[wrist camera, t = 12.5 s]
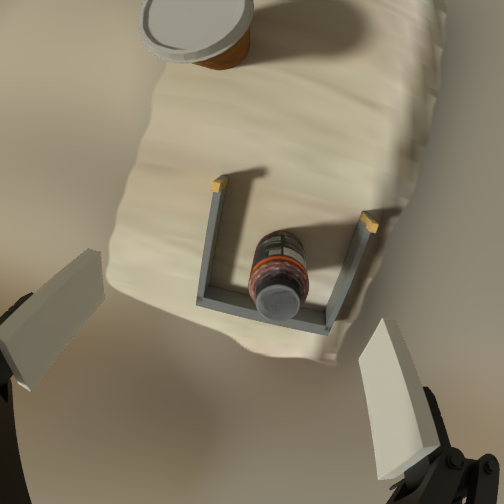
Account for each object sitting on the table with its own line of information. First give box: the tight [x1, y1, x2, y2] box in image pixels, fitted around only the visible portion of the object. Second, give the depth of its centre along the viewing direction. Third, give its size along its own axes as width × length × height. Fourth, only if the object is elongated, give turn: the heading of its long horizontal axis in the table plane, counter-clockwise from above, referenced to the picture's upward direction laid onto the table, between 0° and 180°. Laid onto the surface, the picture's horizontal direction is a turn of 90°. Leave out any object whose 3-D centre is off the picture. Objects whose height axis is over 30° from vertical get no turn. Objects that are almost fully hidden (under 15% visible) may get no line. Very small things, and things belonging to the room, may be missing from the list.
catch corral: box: [196, 175, 379, 336], centre depth 33 cm, size 16×18×4 cm
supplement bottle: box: [248, 232, 309, 322], centre depth 30 cm, size 6×6×11 cm
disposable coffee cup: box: [138, 0, 254, 70], centre depth 20 cm, size 10×10×12 cm
